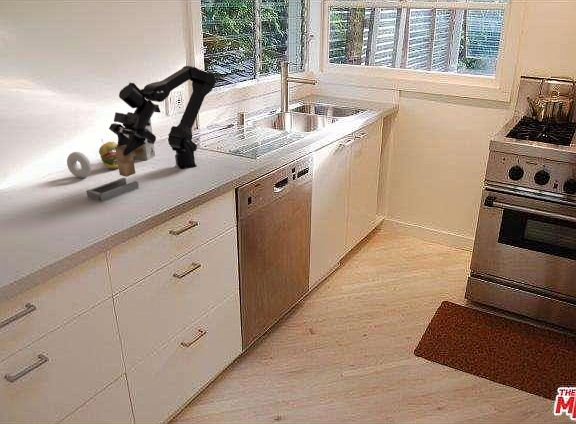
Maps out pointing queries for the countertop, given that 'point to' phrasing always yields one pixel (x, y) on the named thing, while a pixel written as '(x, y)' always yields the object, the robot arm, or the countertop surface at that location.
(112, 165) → the hamburger
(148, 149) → the coffee box
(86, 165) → the donut
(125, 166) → the brown wooden block
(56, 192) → the countertop surface
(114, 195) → the grey tray
